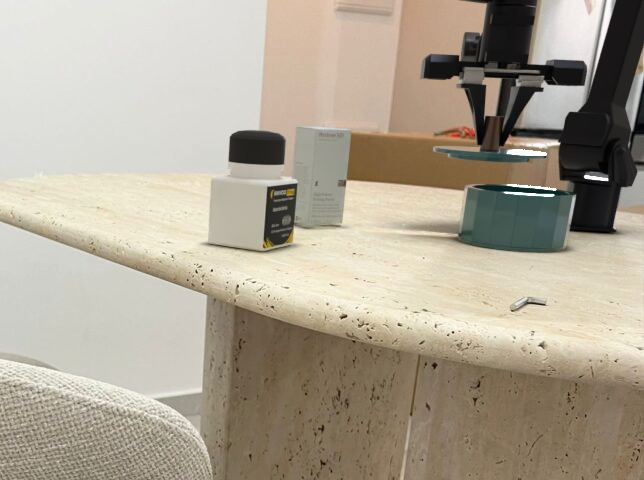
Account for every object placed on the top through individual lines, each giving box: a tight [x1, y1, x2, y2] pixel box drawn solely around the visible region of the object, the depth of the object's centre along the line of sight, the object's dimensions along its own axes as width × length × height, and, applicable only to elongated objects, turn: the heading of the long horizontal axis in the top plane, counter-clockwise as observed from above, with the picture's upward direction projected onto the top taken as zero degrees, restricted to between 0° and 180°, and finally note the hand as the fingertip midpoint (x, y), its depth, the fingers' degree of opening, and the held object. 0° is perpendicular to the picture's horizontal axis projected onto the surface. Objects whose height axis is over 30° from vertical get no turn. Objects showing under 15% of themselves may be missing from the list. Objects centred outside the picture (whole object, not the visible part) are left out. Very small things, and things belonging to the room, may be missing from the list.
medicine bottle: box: [207, 129, 298, 252], centre depth 103 cm, size 7×7×12 cm
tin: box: [457, 183, 576, 253], centre depth 115 cm, size 13×13×6 cm
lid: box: [432, 114, 548, 164], centre depth 117 cm, size 14×14×5 cm
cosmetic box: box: [291, 125, 352, 229], centre depth 121 cm, size 6×4×12 cm
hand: (490, 145), depth 117 cm, fingers closed on lid, 2 cm apart
